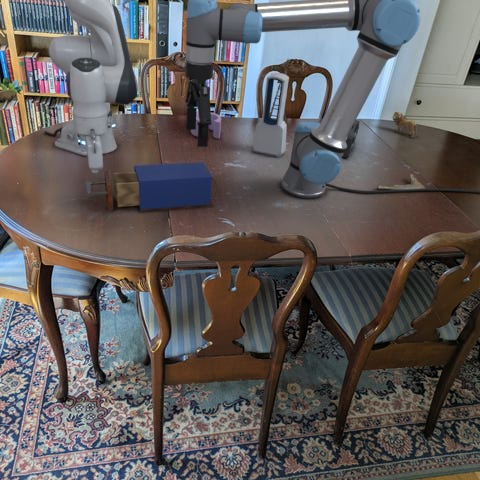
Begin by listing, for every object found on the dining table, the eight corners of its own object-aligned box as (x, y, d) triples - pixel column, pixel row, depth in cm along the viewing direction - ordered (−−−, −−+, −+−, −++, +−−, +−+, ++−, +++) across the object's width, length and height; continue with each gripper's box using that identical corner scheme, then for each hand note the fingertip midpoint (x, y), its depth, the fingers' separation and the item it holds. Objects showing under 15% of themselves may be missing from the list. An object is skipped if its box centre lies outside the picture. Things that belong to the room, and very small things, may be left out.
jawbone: (429, 189, 172) (431, 184, 171) (394, 201, 161) (396, 196, 160) (410, 177, 177) (412, 172, 176) (375, 189, 167) (376, 184, 165)
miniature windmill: (283, 131, 209) (293, 61, 193) (265, 128, 210) (273, 58, 194) (285, 124, 217) (296, 57, 200) (268, 122, 218) (276, 54, 201)
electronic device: (285, 152, 188) (297, 76, 172) (280, 158, 182) (292, 80, 166) (256, 146, 191) (264, 70, 175) (250, 152, 185) (258, 74, 168)
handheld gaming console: (349, 160, 187) (354, 136, 182) (342, 158, 188) (347, 134, 183) (355, 142, 206) (361, 119, 201) (349, 140, 207) (354, 118, 201)
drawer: (88, 212, 134) (86, 186, 129) (86, 196, 141) (84, 172, 137) (177, 205, 142) (177, 181, 137) (171, 190, 149) (171, 167, 145)
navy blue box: (140, 212, 138) (139, 181, 133) (135, 195, 147) (134, 165, 141) (210, 206, 145) (212, 176, 140) (201, 190, 154) (203, 162, 148)
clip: (182, 123, 206) (183, 107, 202) (209, 122, 210) (210, 106, 207) (197, 140, 191) (197, 123, 187) (225, 138, 195) (226, 122, 191)
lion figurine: (387, 130, 224) (392, 111, 219) (391, 127, 228) (397, 109, 223) (416, 139, 217) (422, 120, 212) (420, 136, 220) (426, 118, 215)
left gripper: (106, 137, 118) (110, 186, 125) (100, 111, 134) (103, 156, 141) (80, 138, 116) (85, 188, 123) (77, 111, 132) (81, 157, 139)
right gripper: (226, 74, 117) (220, 153, 128) (201, 52, 136) (198, 122, 148) (197, 74, 115) (194, 154, 126) (176, 51, 134) (175, 123, 146)
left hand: (95, 170), depth 133 cm, fingers closed
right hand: (196, 137), depth 137 cm, fingers open, 13 cm apart
